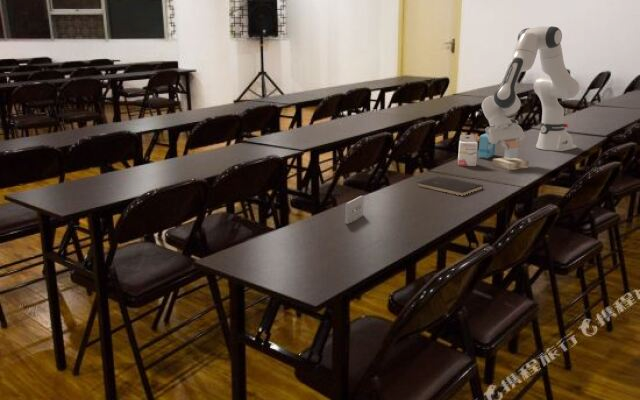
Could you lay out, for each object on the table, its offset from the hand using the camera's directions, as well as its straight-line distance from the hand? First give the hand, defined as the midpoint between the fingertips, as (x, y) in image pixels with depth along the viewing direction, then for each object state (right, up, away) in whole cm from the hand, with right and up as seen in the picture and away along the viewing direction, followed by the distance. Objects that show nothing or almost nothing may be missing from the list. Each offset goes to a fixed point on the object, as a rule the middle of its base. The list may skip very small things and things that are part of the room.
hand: (512, 148), depth 286 cm
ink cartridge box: (-21, -8, +7) cm, 23 cm away
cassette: (-81, -33, -70) cm, 112 cm away
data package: (-6, -2, +24) cm, 25 cm away
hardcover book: (-38, -20, -31) cm, 53 cm away
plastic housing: (0, -4, +2) cm, 5 cm away
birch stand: (0, -9, +3) cm, 9 cm away
